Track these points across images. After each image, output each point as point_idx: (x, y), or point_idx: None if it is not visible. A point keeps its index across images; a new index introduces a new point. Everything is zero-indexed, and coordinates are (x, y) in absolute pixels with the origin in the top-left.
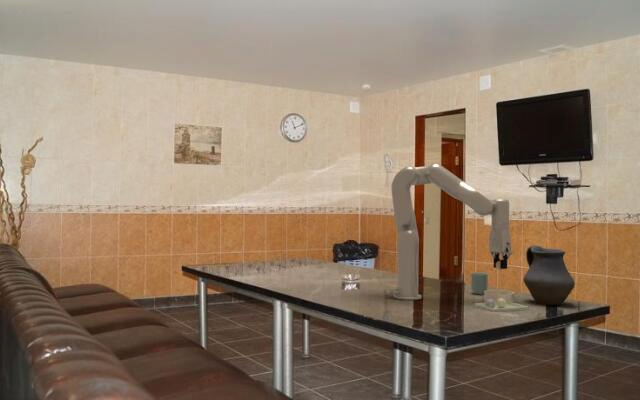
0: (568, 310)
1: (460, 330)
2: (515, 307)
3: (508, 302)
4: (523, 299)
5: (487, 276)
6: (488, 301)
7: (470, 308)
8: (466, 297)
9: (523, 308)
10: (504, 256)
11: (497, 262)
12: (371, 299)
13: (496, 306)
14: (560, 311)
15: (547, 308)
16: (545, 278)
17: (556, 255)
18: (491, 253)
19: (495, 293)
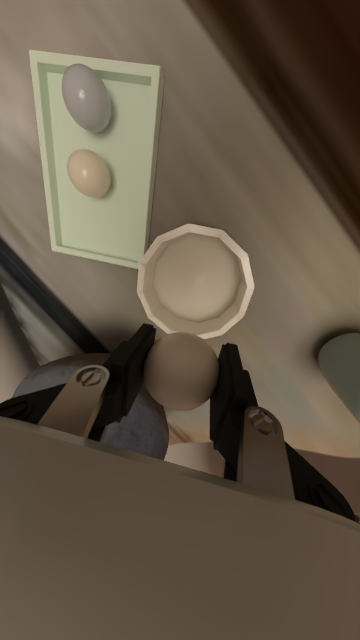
0: (49, 342)
1: None
2: (49, 194)
3: (138, 263)
4: None
5: (351, 410)
6: (70, 65)
7: (150, 24)
8: (339, 249)
9: (51, 226)
10: (49, 403)
11: (184, 360)
12: None
13: (126, 185)
14: (41, 317)
15: (77, 323)
16: (24, 386)
17: None
18: (358, 515)
19: (232, 312)
